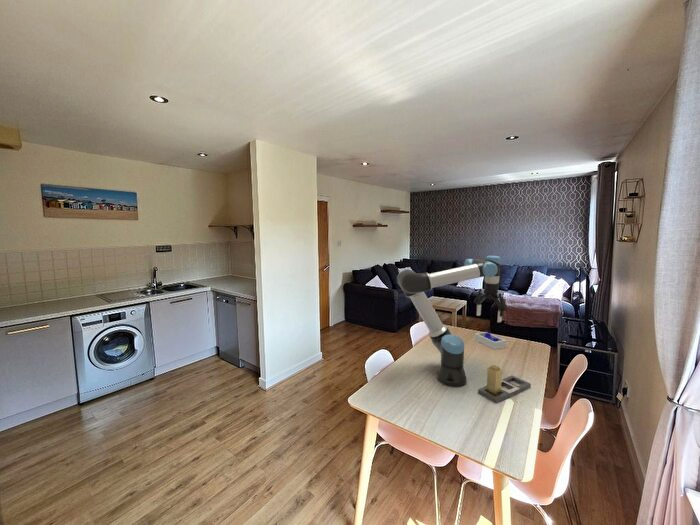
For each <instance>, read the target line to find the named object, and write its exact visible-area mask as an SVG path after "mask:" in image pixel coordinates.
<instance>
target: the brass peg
mask: <svg viewBox="0 0 700 525" xmlns="http://www.w3.org/2000/svg"><path fill="white" fill-rule="evenodd" d="M486 376H487V377H486V386H487V392H488V393H490V394H492V395H494V396H498V395H500V394H501V388H502V386H501V383H502V379H503V369H502V368H501V367H500V366H497V365H496V364H493V365H490V366H488V367H487V374H486Z"/></svg>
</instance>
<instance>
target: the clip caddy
mask: <svg viewBox="0 0 700 525" xmlns="http://www.w3.org/2000/svg"><path fill="white" fill-rule="evenodd" d="M485 333H488V331H482V332H478V333H477V332H476V333H475V334H474V341H475V342H478V343H479V344H482V345H484V346H486V347H488V348H490V349H493V350H500V349H504V348H506V345H507V343H506V342H507V340H505V339H504V338H501V337H499V336H496V335H494V334H491V333H490V336H491V339H492V340H490V339H487V338H485ZM493 338H498V339H499V341H496V342H494V341H493Z"/></svg>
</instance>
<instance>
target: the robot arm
mask: <svg viewBox="0 0 700 525" xmlns="http://www.w3.org/2000/svg"><path fill="white" fill-rule="evenodd" d="M501 262H502V259H501V257H500V256H499V255H487V256H486V258H483V259H482V258H467V259H465V261H464V262H463V263H464V264H463V265H462V266H458V267H454V268H449V269H446V270H441V271H440V270H439V271H436V272H431V273H428V272H422V273H416V272H415V271H414V270H412V269H403V270H401V271H400V272H399V273H398V274H397V276H396V284H397V285H398V286H399V287H400V288H401V291H402V292H403V294H404V295H405V297H406V298H409V299H410V300H411V302H412V303H413V305H414V307H415V309H416V310H417V312H418V314H419V316H420V317H421V319H422V320H423V323H424V324H425V326H426V328H427V329H428V331H429V332H428V336H429V338H430V341H431V343H432V345H433V347H435V348H436V349H437V350H438V352H439V353H440V366H439V369H438V371H437V376H436V378H437V381H438V382H440V384H443V385H445V386H448V387H454V388H456V387H457V388H459V387H463V386H465V385H466V384H467V379H468V378H467V375H466V372H465V369H464V364H465V363H464V362H465V361H464V360H465V342H464V340H463V338H462V337H460V336H458V335H456V334H452V333H451V331H450V329H449V328H448V326H447V325H446V324H444V323H443V322H442V321H441V319H440V318H439V316H438V314H437V312H436V311H435V309H434V307H433V305H432V303H431V302H430V300H429V298H428V296H427V295H426V292H428V291H432V289H433V288H434V289H435V288H438V287H441V286H446V285H450V284H451V285H452V284H456V283H460V282H465V281H468V280H469V281H470V280H474V279H479V278H483V277H484V283H483V284H484V286H483V288H479V289H478V293H477V294H476V297H475V298H474V300H473V303H474V304H475V305H476V306H475V310H476V316H478V317H480V316H481V314H482V303H483V302H484V301H485V300H486V299H489V300H492V301H494V303H495V305H496V306H497V308H498V311H497V321H496V322H497V323H501V322H502V321H503V320H502V319H503V317H504V315H505V314H504V313H505V312H506V311H507V312H508V307H507V306H508V305H507V304H506V301H505V298H504V293H503V292H501V293H500V292H499V288H500V287H499V286H500V284H499V283H500V277H501V276H500V275H501V274H500V273H501V266H502V263H501Z"/></svg>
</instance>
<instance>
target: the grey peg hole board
mask: <svg viewBox="0 0 700 525" xmlns="http://www.w3.org/2000/svg"><path fill="white" fill-rule="evenodd" d="M512 382H514V383H516V384H519V385H516V384H514V383H512ZM531 386H532V384H531V383H530V382H528V381H525V380H523V379H521V378H520V377H516V376H514V375H510V376H507V377H505V378H502V383H501V394H500V395H498V396H494V395H492V394H490V393H488V392H487V385H486V386H483V387H481V388H478V389H477V390H478V391H477V393H478V394H479V395H480V396H482V397H484V398H486V399H488V400H490V401H491V402H493V403H495V404H499V403H500V402H503V401H506V400H507V399H509V398H510V397H513V396H515V395H517V394H520V393H522V392H524V391H526V390H528V389H531V388H532V387H531ZM502 387H505V388H506V389H508V390H506V389H504V388H502Z"/></svg>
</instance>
